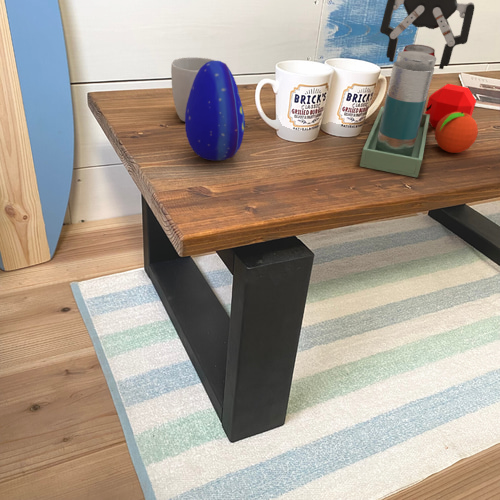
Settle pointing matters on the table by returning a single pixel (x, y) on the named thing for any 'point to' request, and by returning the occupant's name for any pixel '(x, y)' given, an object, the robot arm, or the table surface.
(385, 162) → the can tray
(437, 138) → the clementine
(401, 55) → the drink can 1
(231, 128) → the ornament
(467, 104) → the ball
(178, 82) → the mug
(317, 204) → the table surface
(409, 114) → the drink can
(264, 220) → the table surface
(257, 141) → the table surface
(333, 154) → the table surface
